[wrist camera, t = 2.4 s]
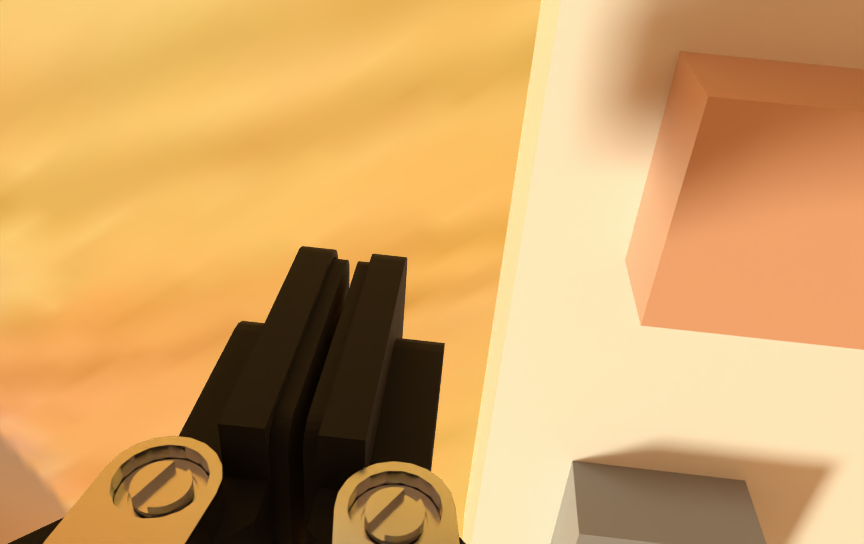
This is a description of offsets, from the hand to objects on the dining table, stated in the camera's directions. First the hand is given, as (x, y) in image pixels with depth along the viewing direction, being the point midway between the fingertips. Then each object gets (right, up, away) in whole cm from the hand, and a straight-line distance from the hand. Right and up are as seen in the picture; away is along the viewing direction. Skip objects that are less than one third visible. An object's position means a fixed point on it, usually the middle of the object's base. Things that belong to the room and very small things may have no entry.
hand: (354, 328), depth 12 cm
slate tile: (+8, -7, +11) cm, 15 cm away
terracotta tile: (+8, +3, +4) cm, 10 cm away
